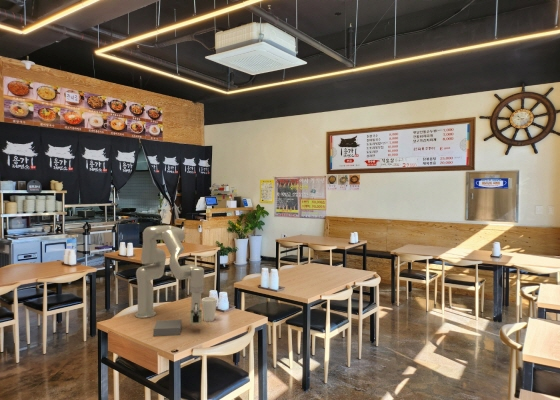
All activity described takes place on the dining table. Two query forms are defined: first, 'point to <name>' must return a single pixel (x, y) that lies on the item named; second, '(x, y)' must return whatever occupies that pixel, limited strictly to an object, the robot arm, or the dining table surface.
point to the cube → (192, 316)
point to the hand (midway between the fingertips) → (195, 320)
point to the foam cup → (209, 308)
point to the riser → (167, 327)
